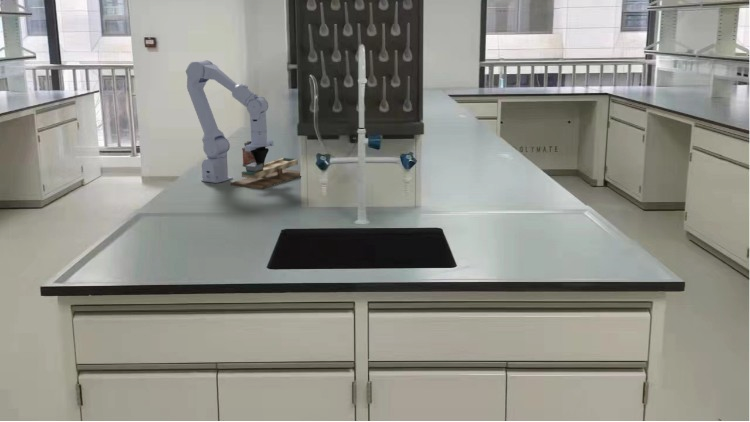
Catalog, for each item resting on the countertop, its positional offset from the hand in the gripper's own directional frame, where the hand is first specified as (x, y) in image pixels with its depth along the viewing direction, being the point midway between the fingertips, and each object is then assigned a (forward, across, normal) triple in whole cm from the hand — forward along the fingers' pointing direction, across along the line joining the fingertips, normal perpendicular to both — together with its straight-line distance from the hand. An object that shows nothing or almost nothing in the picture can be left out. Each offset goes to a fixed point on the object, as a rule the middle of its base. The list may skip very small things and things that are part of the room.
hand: (260, 168), depth 264 cm
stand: (+6, +6, 0) cm, 8 cm away
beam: (+2, +6, 0) cm, 7 cm away
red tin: (+6, +26, +25) cm, 37 cm away
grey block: (+1, -3, 0) cm, 3 cm away
